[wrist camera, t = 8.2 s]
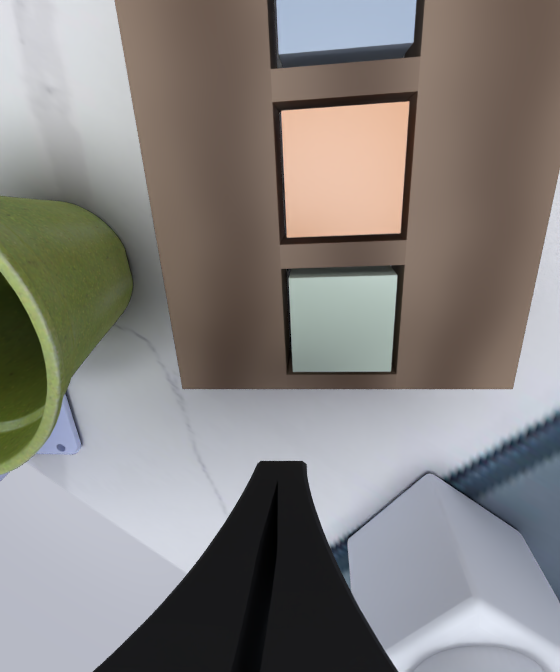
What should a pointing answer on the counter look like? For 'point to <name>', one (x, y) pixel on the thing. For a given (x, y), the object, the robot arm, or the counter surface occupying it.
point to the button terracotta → (344, 169)
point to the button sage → (342, 318)
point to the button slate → (343, 30)
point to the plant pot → (50, 311)
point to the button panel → (348, 250)
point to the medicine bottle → (453, 587)
